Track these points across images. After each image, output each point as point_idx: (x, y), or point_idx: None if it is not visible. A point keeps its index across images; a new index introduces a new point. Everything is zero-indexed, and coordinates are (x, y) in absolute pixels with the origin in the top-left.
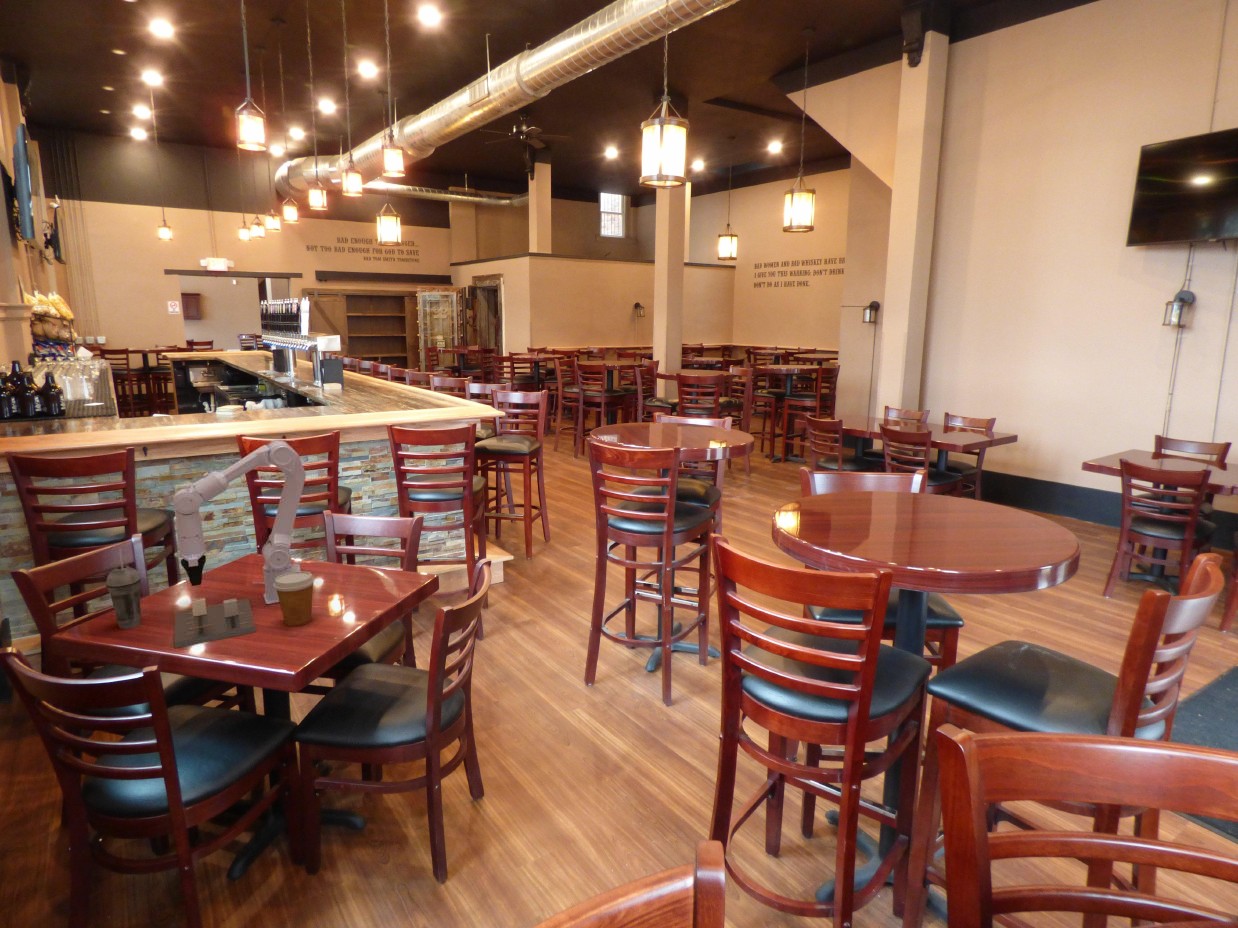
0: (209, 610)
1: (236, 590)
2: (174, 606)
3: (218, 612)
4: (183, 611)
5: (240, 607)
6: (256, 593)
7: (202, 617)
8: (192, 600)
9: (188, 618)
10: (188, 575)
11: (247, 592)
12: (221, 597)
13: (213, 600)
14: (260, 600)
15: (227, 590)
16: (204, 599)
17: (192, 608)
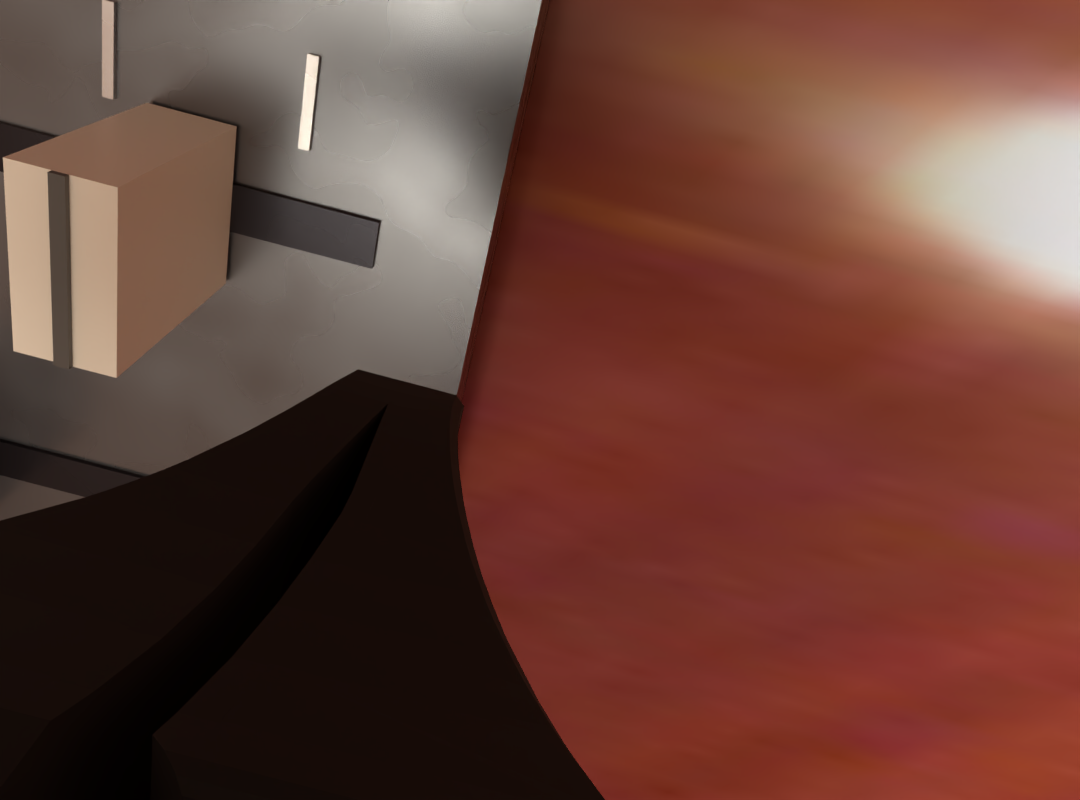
0: (279, 325)
1: (934, 727)
2: (1074, 48)
3: (140, 377)
4: (480, 53)
5: None
6: (658, 793)
7: None
8: (51, 189)
9: (105, 26)
10: (175, 466)
11: (764, 762)
12: (848, 567)
13: (825, 481)
14: None
15: (1031, 678)
16: (23, 346)
17: (79, 132)
